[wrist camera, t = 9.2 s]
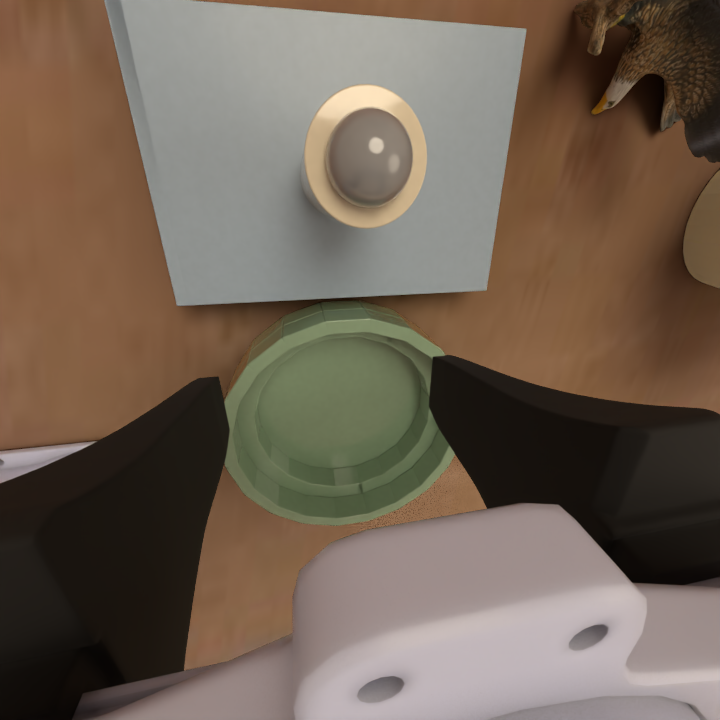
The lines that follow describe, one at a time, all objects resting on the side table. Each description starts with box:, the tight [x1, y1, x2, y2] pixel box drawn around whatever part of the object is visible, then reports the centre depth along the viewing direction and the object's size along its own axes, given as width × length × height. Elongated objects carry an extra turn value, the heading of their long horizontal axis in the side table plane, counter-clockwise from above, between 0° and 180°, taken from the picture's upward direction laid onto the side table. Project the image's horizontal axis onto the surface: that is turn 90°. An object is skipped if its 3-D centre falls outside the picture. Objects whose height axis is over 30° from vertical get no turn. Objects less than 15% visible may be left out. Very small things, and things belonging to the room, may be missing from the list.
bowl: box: [224, 300, 455, 526], centre depth 21 cm, size 14×14×4 cm
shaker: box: [300, 84, 427, 229], centre depth 12 cm, size 4×4×8 cm
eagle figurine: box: [574, 0, 720, 163], centre depth 15 cm, size 8×7×9 cm
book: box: [104, 0, 526, 306], centre depth 16 cm, size 16×11×2 cm
